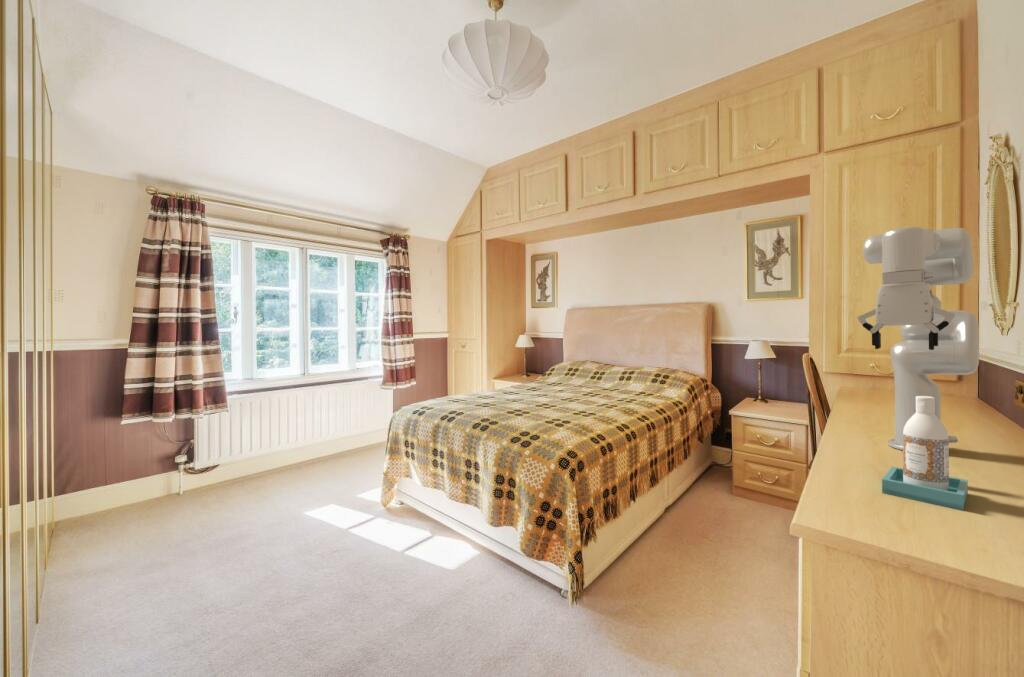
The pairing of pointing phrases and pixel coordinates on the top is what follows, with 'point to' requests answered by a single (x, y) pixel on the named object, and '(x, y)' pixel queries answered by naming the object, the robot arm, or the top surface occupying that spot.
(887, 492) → the holder tray
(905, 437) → the bath foam
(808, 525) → the top surface
